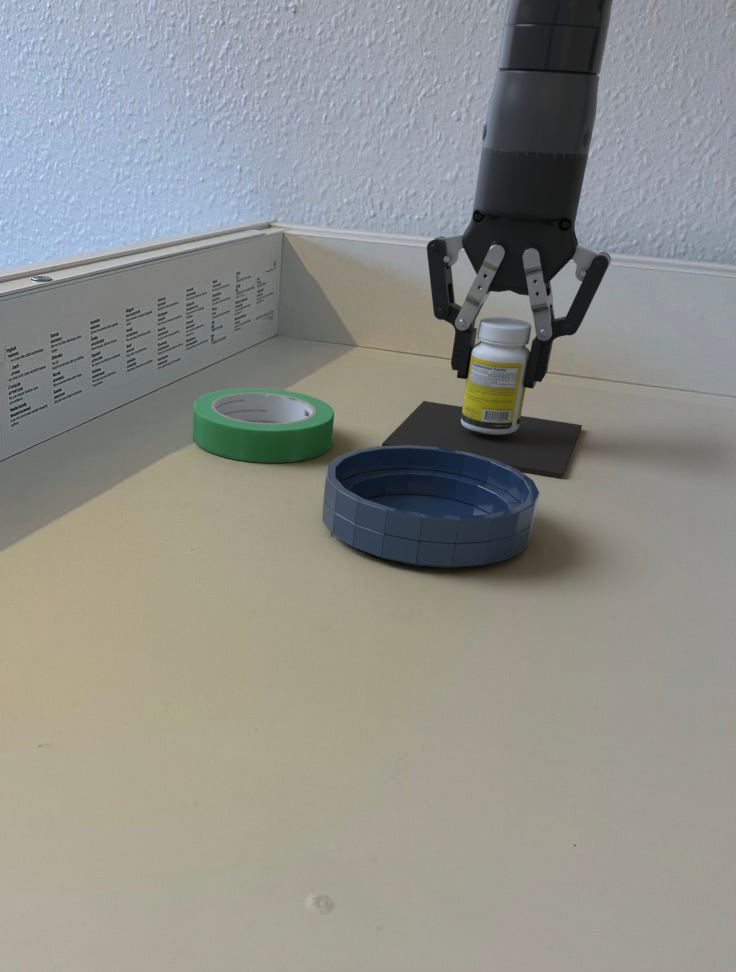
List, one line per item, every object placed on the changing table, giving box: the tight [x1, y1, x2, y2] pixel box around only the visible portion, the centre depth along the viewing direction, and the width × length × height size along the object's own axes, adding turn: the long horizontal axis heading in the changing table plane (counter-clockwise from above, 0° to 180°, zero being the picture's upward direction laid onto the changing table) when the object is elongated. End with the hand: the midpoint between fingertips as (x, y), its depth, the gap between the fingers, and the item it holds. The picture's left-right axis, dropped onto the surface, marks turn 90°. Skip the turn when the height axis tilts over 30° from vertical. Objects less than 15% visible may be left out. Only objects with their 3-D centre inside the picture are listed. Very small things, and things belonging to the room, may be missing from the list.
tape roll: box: [192, 387, 335, 464], centre depth 78 cm, size 11×11×3 cm
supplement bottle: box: [461, 316, 532, 435], centre depth 79 cm, size 5×5×8 cm
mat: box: [381, 400, 583, 479], centre depth 82 cm, size 14×14×1 cm
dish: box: [321, 445, 540, 569], centre depth 63 cm, size 13×13×4 cm
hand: (496, 380), depth 79 cm, fingers closed on supplement bottle, 4 cm apart
